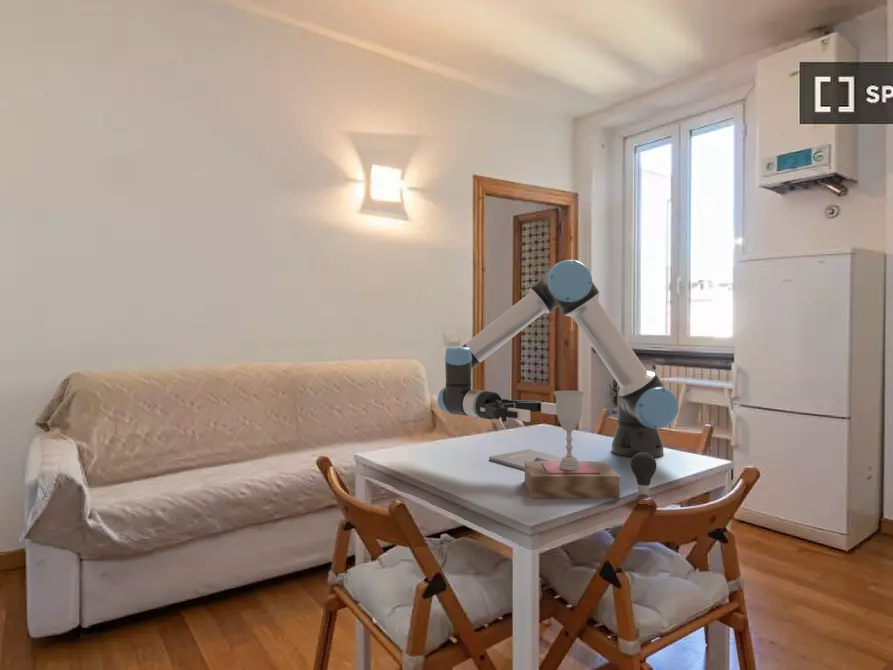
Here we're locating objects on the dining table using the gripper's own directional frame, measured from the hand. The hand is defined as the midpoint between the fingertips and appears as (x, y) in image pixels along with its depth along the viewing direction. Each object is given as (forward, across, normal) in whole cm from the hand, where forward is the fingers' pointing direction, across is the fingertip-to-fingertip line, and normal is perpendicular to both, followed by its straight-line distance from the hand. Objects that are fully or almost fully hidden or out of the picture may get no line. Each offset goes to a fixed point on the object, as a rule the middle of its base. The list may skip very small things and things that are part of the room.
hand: (546, 413), depth 139 cm
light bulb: (+21, -8, -18) cm, 29 cm away
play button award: (-16, -15, -18) cm, 29 cm away
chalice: (+7, 0, -12) cm, 14 cm away
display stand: (+7, 0, -18) cm, 19 cm away
